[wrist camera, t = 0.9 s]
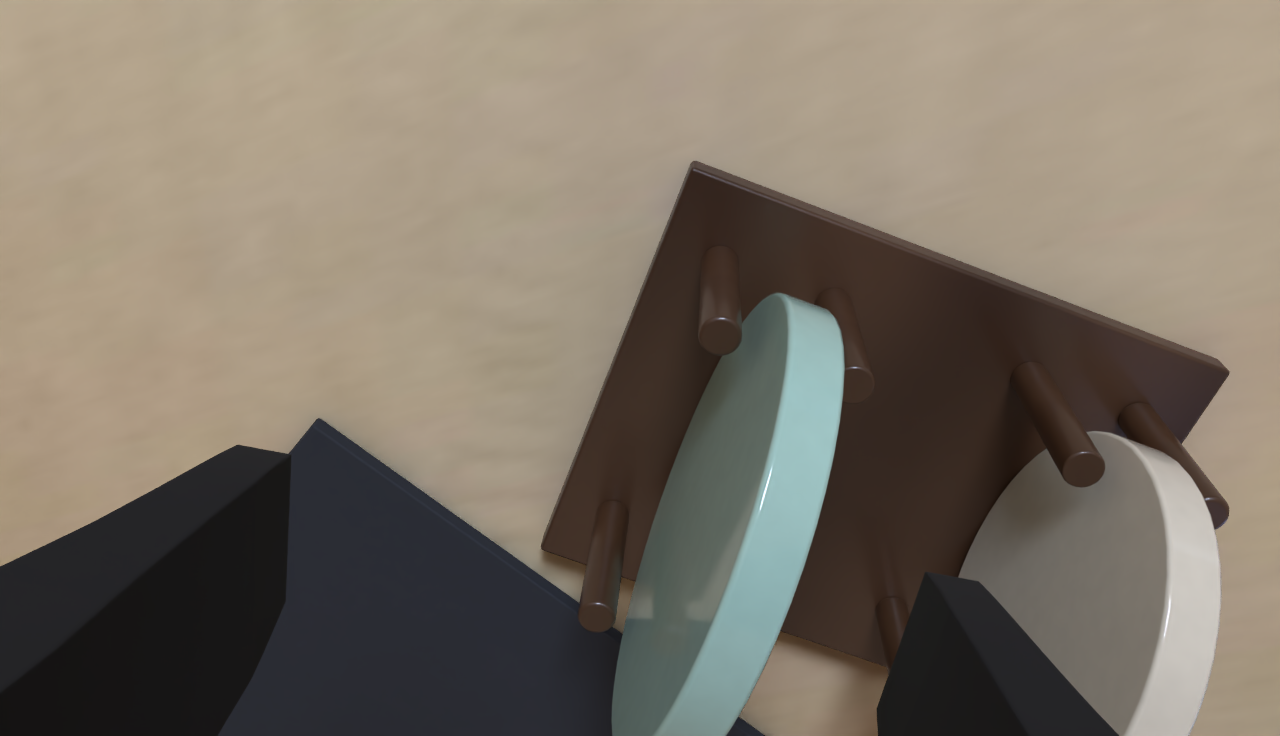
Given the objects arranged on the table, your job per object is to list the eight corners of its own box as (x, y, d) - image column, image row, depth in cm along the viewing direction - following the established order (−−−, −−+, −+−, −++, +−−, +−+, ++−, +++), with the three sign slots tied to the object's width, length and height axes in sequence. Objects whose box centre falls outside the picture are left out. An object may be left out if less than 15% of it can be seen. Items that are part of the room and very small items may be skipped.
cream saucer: (1119, 379, 21) (1301, 618, 14) (946, 653, 24) (1031, 951, 17) (1077, 363, 21) (1240, 595, 14) (908, 640, 24) (979, 935, 17)
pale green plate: (821, 244, 20) (879, 463, 13) (667, 573, 24) (646, 893, 16) (775, 227, 20) (809, 438, 13) (628, 559, 23) (588, 875, 16)
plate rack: (1219, 359, 21) (1325, 466, 18) (996, 689, 25) (1045, 835, 21) (692, 158, 20) (686, 227, 17) (543, 534, 24) (511, 659, 20)
